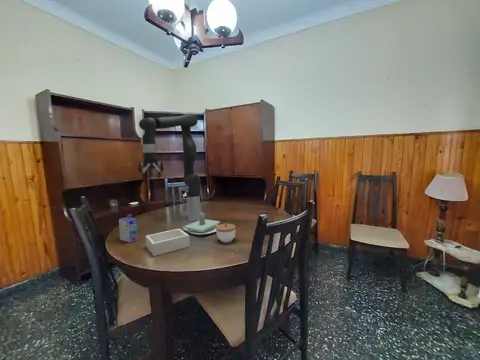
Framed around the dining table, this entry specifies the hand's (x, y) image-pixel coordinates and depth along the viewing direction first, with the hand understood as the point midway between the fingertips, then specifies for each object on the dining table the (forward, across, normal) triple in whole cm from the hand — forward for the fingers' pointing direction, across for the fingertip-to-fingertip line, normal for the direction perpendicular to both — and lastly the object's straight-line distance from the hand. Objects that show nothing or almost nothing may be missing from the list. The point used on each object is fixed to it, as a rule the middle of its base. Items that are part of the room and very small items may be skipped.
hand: (151, 178), depth 140 cm
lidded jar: (+33, +26, -42) cm, 60 cm away
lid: (+31, +23, -19) cm, 43 cm away
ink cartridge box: (+33, -16, -6) cm, 37 cm away
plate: (+34, +24, -19) cm, 46 cm away
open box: (+33, -2, -30) cm, 45 cm away
